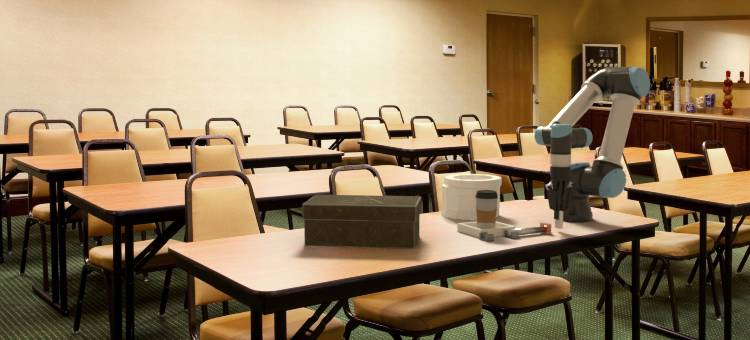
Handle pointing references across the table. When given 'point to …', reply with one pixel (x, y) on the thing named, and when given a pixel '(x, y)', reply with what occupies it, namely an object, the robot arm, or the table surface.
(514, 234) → the bar guides
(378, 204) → the box
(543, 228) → the lock bar
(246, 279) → the table surface
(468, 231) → the square tray
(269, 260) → the table surface
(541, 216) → the table surface
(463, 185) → the container
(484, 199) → the coffee cup
